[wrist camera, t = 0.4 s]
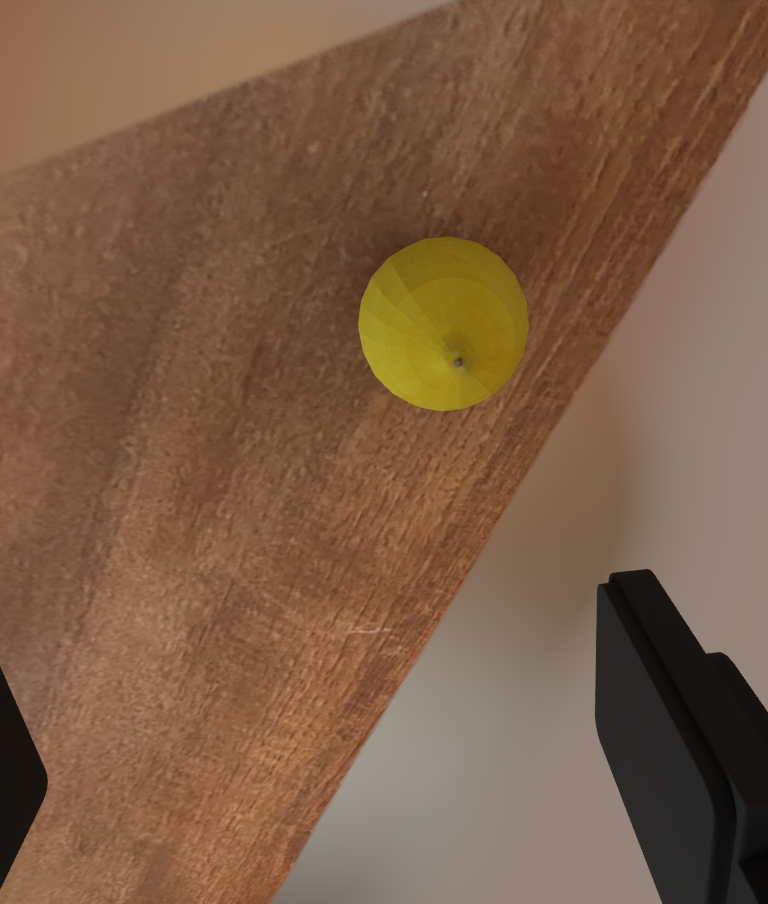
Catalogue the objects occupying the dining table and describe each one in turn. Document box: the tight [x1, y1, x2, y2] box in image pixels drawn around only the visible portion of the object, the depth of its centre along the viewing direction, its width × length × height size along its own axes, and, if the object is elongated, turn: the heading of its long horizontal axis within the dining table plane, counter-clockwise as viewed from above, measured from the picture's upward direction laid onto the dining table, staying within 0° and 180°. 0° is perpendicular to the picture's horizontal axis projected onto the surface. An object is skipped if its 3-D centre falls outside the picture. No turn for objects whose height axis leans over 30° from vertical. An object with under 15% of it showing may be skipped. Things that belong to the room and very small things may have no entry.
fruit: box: [358, 236, 529, 411], centre depth 23 cm, size 6×6×8 cm
